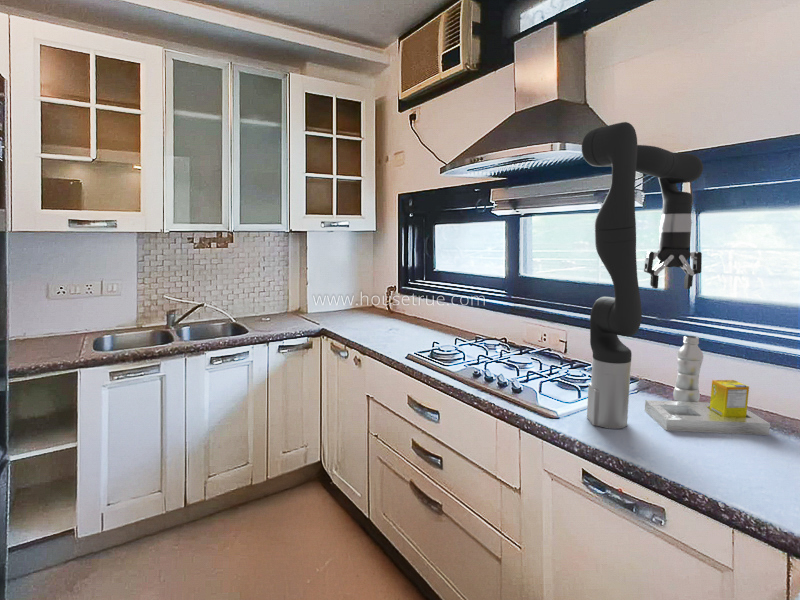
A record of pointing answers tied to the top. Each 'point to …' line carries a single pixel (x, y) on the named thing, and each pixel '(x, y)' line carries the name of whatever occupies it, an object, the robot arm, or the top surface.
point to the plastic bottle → (688, 371)
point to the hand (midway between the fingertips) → (670, 288)
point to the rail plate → (702, 418)
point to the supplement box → (729, 398)
